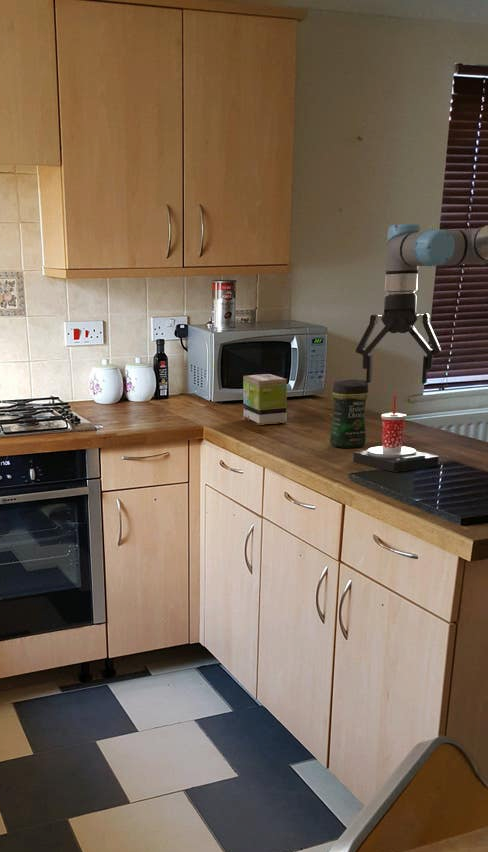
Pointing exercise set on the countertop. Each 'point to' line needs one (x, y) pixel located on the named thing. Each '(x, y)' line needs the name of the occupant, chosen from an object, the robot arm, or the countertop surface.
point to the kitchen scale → (395, 459)
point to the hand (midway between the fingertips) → (396, 382)
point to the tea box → (265, 398)
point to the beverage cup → (392, 430)
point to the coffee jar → (349, 413)
